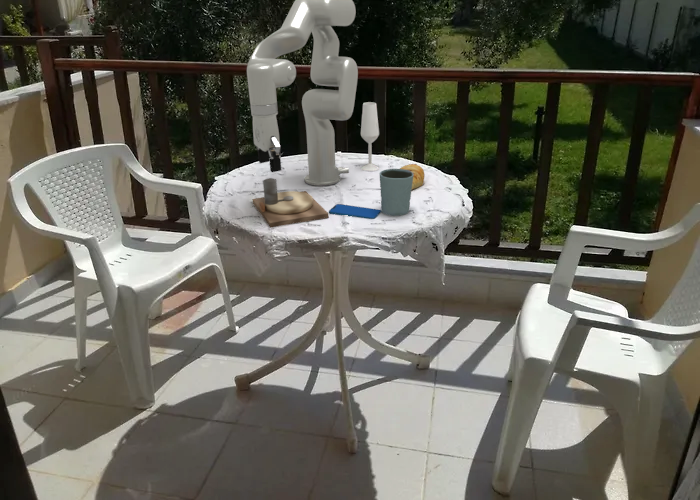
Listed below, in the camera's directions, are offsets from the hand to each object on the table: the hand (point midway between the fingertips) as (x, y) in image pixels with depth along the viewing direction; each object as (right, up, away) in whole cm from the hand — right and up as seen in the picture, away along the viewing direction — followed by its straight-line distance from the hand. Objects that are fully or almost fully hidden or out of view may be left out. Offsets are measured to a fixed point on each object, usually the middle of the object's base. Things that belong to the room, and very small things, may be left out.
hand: (270, 166), depth 176 cm
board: (+5, -12, +8) cm, 16 cm away
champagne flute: (+31, +6, +46) cm, 56 cm away
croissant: (+44, -2, +29) cm, 53 cm away
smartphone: (+25, -14, +6) cm, 29 cm away
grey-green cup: (+38, -13, +6) cm, 41 cm away
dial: (+5, -11, +7) cm, 14 cm away
